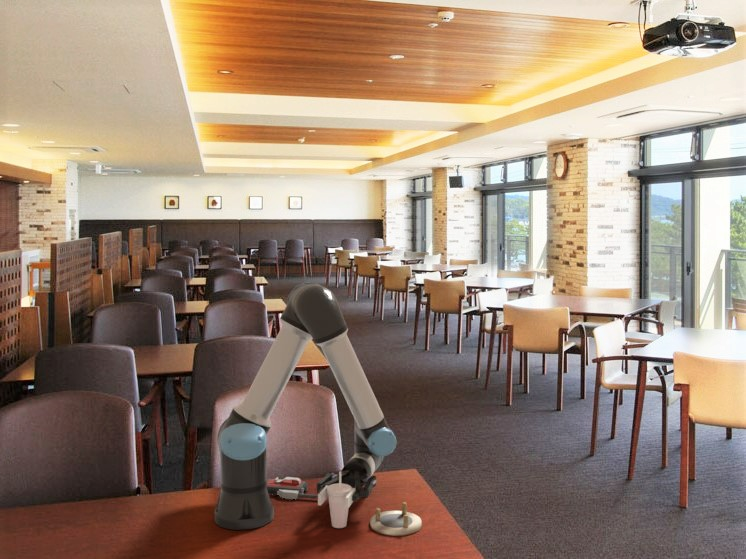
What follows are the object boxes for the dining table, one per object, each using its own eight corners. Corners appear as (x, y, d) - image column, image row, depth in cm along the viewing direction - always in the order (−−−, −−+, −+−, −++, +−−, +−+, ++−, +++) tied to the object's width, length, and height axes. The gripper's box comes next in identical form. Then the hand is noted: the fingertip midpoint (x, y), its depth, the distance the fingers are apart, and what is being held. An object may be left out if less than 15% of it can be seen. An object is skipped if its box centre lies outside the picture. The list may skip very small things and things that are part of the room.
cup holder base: (360, 528, 179) (360, 513, 178) (385, 510, 190) (385, 496, 190) (407, 539, 172) (407, 523, 172) (430, 520, 184) (430, 505, 183)
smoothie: (332, 532, 176) (332, 476, 175) (322, 522, 181) (322, 468, 180) (356, 527, 179) (356, 472, 178) (345, 518, 184) (345, 465, 183)
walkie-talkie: (255, 498, 199) (324, 503, 196) (255, 482, 199) (324, 487, 195) (265, 487, 208) (332, 492, 204) (265, 472, 208) (332, 477, 204)
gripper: (392, 487, 195) (371, 520, 172) (325, 480, 199) (295, 512, 177) (392, 460, 194) (371, 490, 172) (325, 454, 199) (295, 482, 177)
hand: (333, 501), depth 175 cm, fingers closed on smoothie, 6 cm apart
